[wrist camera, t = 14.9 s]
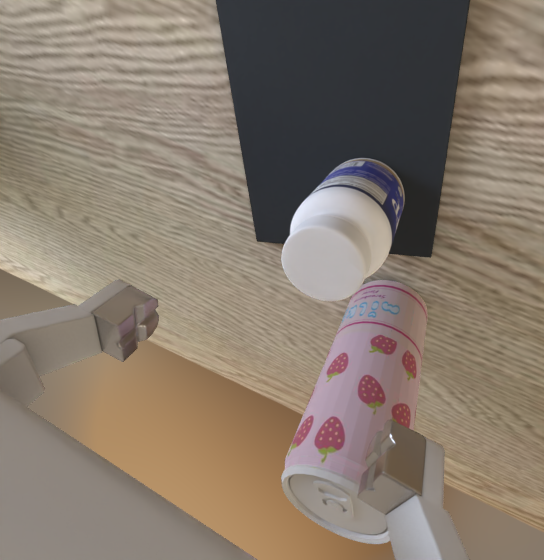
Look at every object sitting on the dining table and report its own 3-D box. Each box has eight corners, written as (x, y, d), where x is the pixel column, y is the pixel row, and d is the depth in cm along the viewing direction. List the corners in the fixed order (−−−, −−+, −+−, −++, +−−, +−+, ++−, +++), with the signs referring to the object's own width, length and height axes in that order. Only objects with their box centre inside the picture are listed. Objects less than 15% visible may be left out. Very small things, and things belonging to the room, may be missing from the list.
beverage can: (406, 266, 23) (357, 472, 12) (441, 327, 25) (426, 560, 14) (338, 290, 27) (253, 466, 16) (372, 341, 28) (317, 535, 17)
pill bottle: (387, 245, 23) (358, 329, 16) (315, 220, 24) (262, 290, 17) (420, 169, 19) (399, 237, 13) (334, 145, 21) (276, 196, 14)
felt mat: (258, 239, 28) (256, 241, 27) (199, -118, 17) (194, -121, 16) (431, 254, 22) (431, 257, 22) (508, -258, 11) (509, -266, 11)
